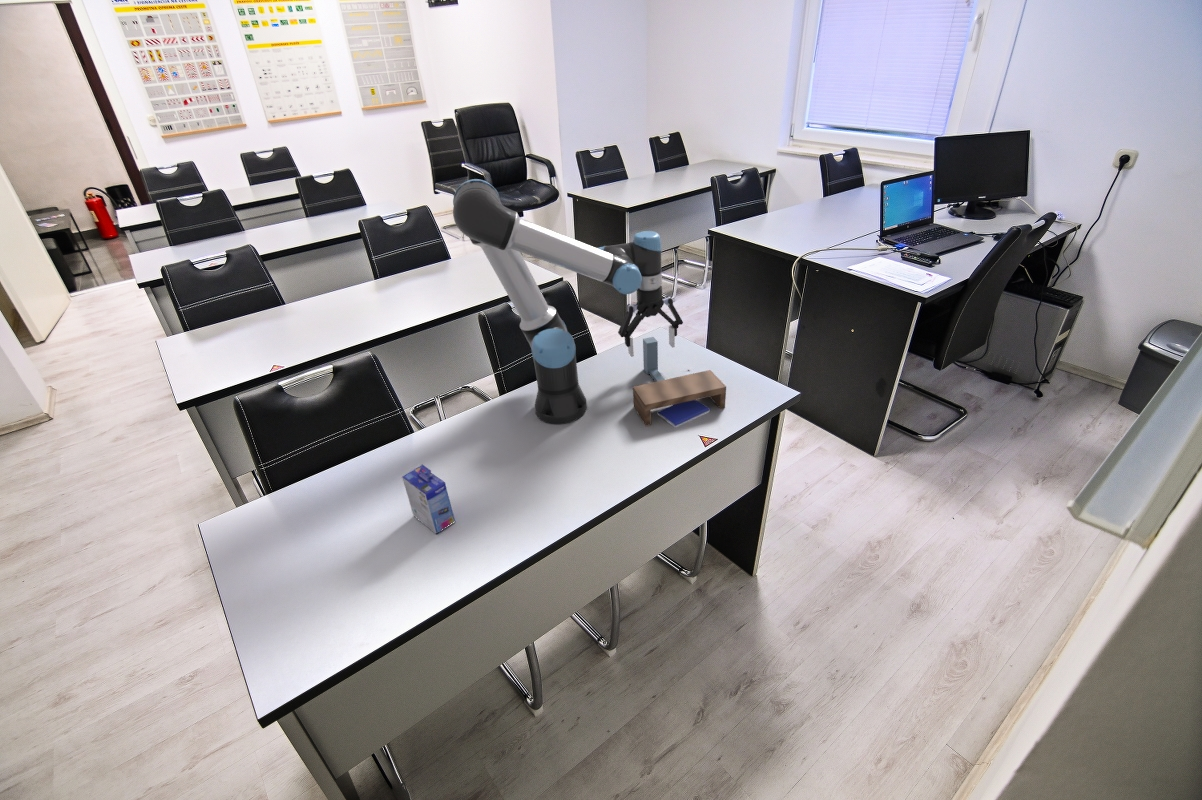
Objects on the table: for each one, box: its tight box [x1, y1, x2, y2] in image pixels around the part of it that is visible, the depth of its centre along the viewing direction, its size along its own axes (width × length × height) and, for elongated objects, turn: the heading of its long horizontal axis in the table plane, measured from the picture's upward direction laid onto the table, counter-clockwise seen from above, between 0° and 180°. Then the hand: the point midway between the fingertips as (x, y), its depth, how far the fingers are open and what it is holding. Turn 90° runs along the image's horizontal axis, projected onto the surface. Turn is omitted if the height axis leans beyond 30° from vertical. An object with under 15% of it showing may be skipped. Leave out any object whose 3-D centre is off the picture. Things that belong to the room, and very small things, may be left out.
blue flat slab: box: [656, 399, 711, 428], centre depth 160 cm, size 2×8×12 cm
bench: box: [632, 369, 727, 427], centre depth 160 cm, size 24×10×7 cm, turn 107°
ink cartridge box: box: [401, 464, 456, 534], centre depth 127 cm, size 10×6×14 cm, turn 48°
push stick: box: [642, 336, 666, 382], centre depth 171 cm, size 4×19×11 cm, turn 17°
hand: (651, 350), depth 176 cm, fingers open, 13 cm apart
